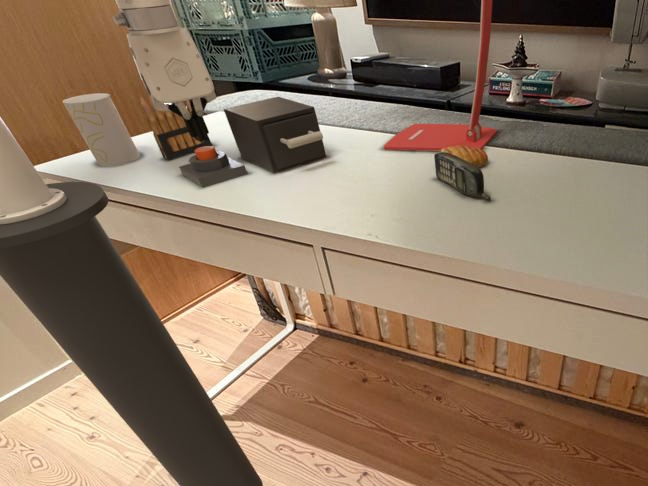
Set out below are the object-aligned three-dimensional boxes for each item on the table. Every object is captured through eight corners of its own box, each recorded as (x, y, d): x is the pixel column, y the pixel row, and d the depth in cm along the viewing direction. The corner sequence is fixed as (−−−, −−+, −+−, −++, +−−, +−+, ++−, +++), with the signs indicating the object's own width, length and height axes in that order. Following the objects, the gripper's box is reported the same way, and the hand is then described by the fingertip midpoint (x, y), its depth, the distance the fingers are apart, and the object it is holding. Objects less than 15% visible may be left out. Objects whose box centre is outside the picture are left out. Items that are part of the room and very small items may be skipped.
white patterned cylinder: (89, 164, 99) (52, 102, 91) (120, 152, 105) (88, 92, 97) (118, 167, 97) (84, 104, 89) (148, 154, 103) (118, 93, 95)
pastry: (480, 157, 94) (480, 137, 91) (493, 167, 89) (493, 147, 87) (437, 164, 91) (435, 144, 89) (448, 176, 87) (447, 155, 84)
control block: (202, 187, 87) (194, 168, 84) (182, 175, 92) (174, 157, 90) (247, 173, 91) (241, 155, 89) (226, 162, 97) (219, 145, 94)
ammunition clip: (208, 144, 106) (184, 86, 98) (212, 146, 106) (188, 86, 98) (163, 159, 100) (133, 97, 92) (168, 160, 99) (138, 98, 91)
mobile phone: (430, 152, 83) (478, 173, 73) (444, 148, 84) (493, 168, 74) (433, 180, 86) (479, 203, 76) (447, 176, 87) (494, 198, 78)
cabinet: (326, 157, 97) (314, 106, 91) (274, 173, 91) (256, 120, 84) (292, 143, 105) (278, 96, 99) (241, 158, 99) (223, 108, 92)
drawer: (337, 158, 93) (327, 117, 88) (289, 174, 88) (275, 130, 83) (293, 142, 103) (282, 103, 98) (247, 155, 97) (232, 114, 92)
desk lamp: (373, 123, 115) (333, -103, 88) (523, 131, 106) (530, -119, 79) (336, 146, 102) (277, -110, 75) (502, 158, 93) (502, -129, 66)
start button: (202, 162, 88) (198, 153, 87) (195, 158, 90) (191, 149, 88) (221, 157, 90) (217, 148, 88) (213, 153, 92) (209, 144, 90)
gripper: (107, 28, 69) (168, 154, 82) (206, 16, 77) (248, 133, 89) (94, 25, 73) (154, 146, 86) (189, 14, 81) (231, 126, 93)
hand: (202, 139), depth 87 cm, fingers closed
